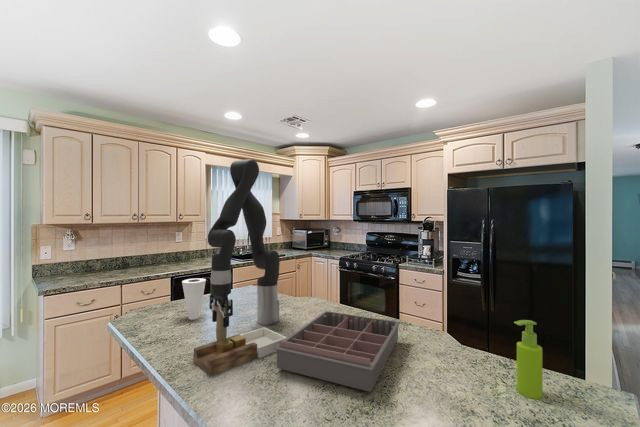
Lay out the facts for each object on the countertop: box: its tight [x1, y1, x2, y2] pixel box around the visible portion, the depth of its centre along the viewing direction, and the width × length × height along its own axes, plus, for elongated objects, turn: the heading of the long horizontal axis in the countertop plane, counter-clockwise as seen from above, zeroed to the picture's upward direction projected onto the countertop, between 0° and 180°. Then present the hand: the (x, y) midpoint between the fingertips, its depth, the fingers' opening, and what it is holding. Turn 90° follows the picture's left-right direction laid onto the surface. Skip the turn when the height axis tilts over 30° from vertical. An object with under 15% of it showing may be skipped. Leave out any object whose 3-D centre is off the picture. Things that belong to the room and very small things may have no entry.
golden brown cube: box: [230, 334, 246, 349], centre depth 107 cm, size 4×4×4 cm
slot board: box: [192, 334, 258, 377], centre depth 104 cm, size 17×13×4 cm
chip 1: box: [215, 339, 233, 355], centre depth 103 cm, size 4×4×4 cm
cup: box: [181, 277, 207, 321], centre depth 145 cm, size 11×11×18 cm
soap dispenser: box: [513, 319, 543, 400], centre depth 84 cm, size 6×7×20 cm
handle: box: [213, 305, 228, 341], centre depth 115 cm, size 5×6×15 cm
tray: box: [240, 326, 288, 359], centre depth 114 cm, size 12×15×4 cm
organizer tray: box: [274, 310, 401, 393], centre depth 107 cm, size 32×40×10 cm
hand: (220, 324), depth 115 cm, fingers open, 8 cm apart
